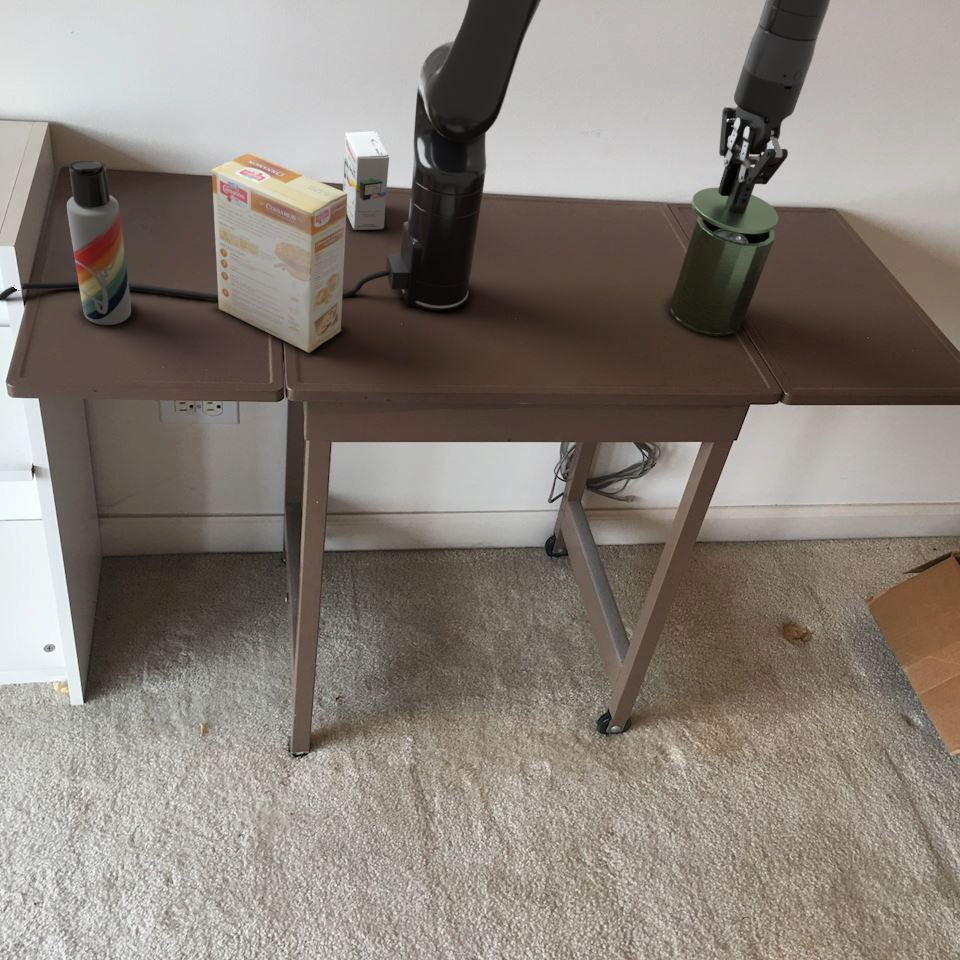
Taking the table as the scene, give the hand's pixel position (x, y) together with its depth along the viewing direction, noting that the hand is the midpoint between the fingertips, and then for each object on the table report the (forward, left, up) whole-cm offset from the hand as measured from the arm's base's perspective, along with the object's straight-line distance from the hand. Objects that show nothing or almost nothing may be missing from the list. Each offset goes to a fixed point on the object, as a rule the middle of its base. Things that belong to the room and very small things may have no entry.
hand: (731, 200), depth 129 cm
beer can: (+2, +1, -18) cm, 18 cm away
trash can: (+2, +1, -19) cm, 19 cm away
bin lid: (+1, 0, -2) cm, 2 cm away
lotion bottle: (-80, +7, -19) cm, 82 cm away
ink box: (-43, +31, -19) cm, 56 cm away
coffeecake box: (-59, +4, -19) cm, 62 cm away
